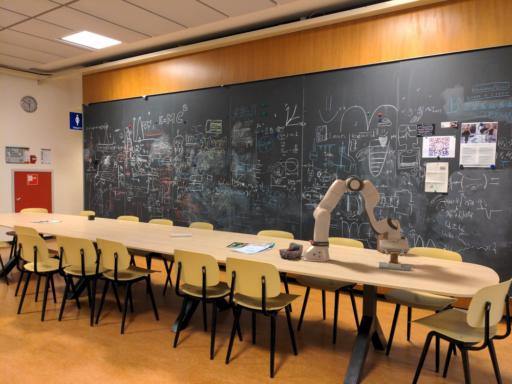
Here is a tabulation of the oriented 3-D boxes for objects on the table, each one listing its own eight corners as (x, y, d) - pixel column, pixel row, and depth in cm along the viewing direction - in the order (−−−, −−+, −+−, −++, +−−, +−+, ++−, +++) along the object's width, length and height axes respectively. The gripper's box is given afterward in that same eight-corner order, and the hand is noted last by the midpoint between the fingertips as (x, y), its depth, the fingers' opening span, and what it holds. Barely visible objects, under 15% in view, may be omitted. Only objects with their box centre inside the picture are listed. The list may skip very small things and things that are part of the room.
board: (378, 268, 264) (379, 263, 264) (379, 263, 279) (379, 259, 279) (409, 271, 258) (410, 266, 258) (408, 266, 273) (408, 261, 273)
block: (382, 253, 315) (383, 229, 314) (376, 251, 325) (377, 227, 324) (393, 253, 317) (394, 229, 316) (387, 250, 327) (388, 227, 326)
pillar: (390, 265, 267) (390, 253, 266) (389, 264, 272) (390, 251, 271) (397, 266, 265) (398, 253, 265) (397, 265, 270) (397, 252, 270)
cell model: (305, 242, 297) (291, 246, 281) (304, 256, 298) (291, 261, 282) (290, 240, 305) (277, 244, 289) (290, 253, 306) (276, 258, 290)
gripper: (379, 236, 283) (379, 251, 274) (409, 238, 276) (409, 253, 268) (379, 241, 287) (378, 256, 279) (408, 243, 281) (408, 258, 272)
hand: (394, 255), depth 273 cm, fingers open, 8 cm apart
